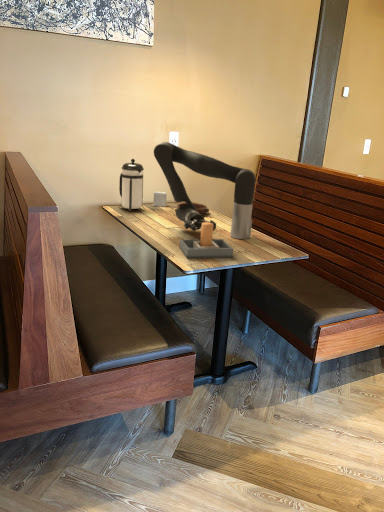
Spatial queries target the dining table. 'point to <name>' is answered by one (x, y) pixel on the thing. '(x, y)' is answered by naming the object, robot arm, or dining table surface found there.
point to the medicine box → (160, 199)
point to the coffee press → (131, 185)
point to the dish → (199, 207)
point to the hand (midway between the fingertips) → (204, 228)
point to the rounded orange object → (206, 234)
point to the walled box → (205, 249)
